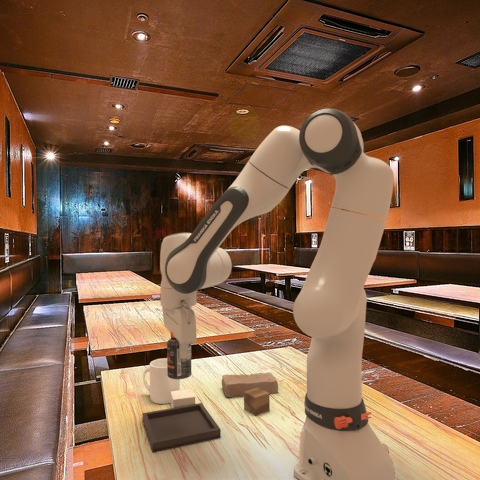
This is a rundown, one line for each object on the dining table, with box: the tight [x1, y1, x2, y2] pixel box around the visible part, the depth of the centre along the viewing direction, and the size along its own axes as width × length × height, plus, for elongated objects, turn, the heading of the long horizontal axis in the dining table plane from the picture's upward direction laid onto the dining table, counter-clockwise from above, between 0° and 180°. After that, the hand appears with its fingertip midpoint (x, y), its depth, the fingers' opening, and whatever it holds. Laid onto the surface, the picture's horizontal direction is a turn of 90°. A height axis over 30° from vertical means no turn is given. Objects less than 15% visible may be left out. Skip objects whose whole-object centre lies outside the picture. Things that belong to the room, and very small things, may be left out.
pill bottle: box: [166, 331, 192, 380], centre depth 96 cm, size 6×6×11 cm
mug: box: [142, 357, 181, 405], centre depth 115 cm, size 9×12×11 cm
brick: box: [221, 371, 279, 398], centre depth 120 cm, size 17×8×5 cm, turn 102°
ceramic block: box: [170, 388, 196, 408], centre depth 108 cm, size 6×6×4 cm
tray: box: [141, 402, 222, 453], centre depth 96 cm, size 16×16×2 cm
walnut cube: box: [243, 388, 271, 417], centre depth 106 cm, size 5×5×5 cm
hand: (179, 353), depth 96 cm, fingers closed on pill bottle, 6 cm apart
